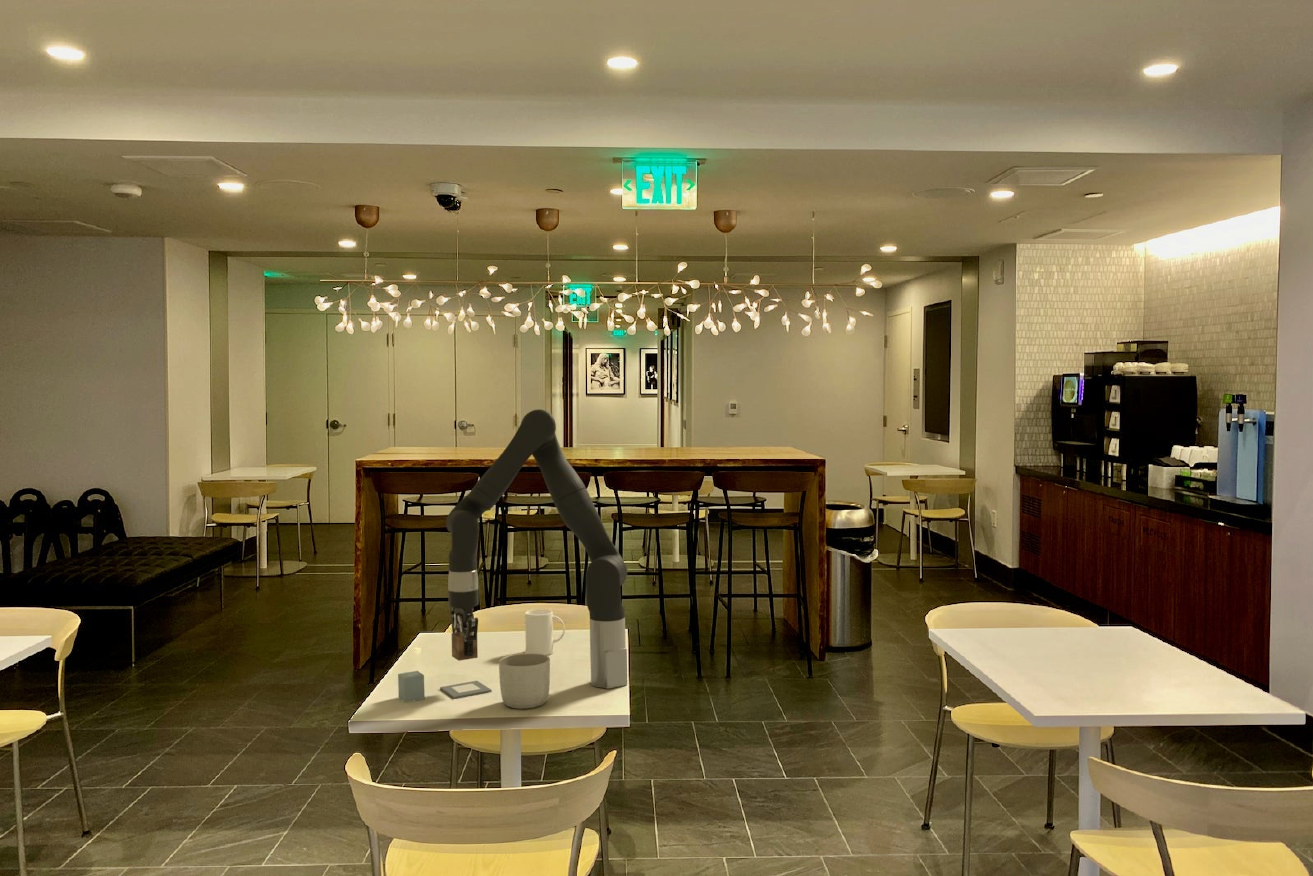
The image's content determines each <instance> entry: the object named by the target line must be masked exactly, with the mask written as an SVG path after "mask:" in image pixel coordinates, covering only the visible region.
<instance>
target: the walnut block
mask: <svg viewBox="0 0 1313 876" xmlns="http://www.w3.org/2000/svg"><path fill="white" fill-rule="evenodd" d="M473 633H474V632H473ZM470 636H471V635H470ZM478 654H479V653H478V639H477V640H474V641H473V655H472V656H467V657H466V656H465V655H464V639H463V634H462V633H461V632H457V633H453V632H451V657H452V658H453V659H455V660H457V661H460V662H461V661H465V660H472V659H478Z"/></svg>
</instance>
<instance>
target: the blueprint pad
mask: <svg viewBox="0 0 1313 876" xmlns="http://www.w3.org/2000/svg"><path fill="white" fill-rule="evenodd" d="M439 688H440V690H441V691H442V692H444V693H446V694H447V695H448V696H449V697H450V698H452V699H461V698H465V697H472V696H475V695H477V696H478V695H481V694H487V693H492V691H493V690H492V689H491V688H489V687H488V686H486V685H485V684H483V683H481V682H480V681H478V680H473V681H467V682H462V683H454V684H451V685H450V684H449V685H444V686H440V687H439Z"/></svg>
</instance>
